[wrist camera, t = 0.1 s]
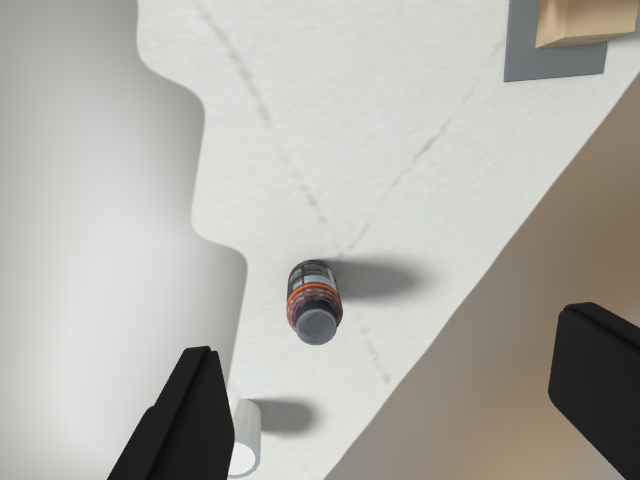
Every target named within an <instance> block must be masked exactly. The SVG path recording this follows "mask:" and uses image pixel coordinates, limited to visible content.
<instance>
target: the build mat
mask: <svg viewBox="0 0 640 480" xmlns="http://www.w3.org/2000/svg"><path fill="white" fill-rule="evenodd" d="M539 6H540V0H510V4H509V17H508V30H507V44H506V57H505V70H504V82H510V81H522V80H533V79H545V78H557V77H569V76H581V75H592V74H601V73H602V70H603V64H604V58H605V51H606V45H607V41H604V42H601V43H598V44H586V45H574V46H561V47H549V48H537V49H535V46H536V36H537V26H538V16H539Z"/></svg>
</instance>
